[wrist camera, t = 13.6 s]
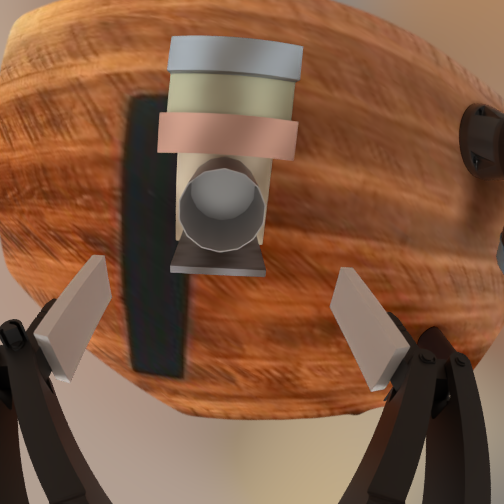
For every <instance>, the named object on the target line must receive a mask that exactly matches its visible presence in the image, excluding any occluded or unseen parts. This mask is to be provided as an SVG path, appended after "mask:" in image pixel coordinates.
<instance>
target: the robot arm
mask: <svg viewBox="0 0 504 504" xmlns="http://www.w3.org/2000/svg"><path fill="white" fill-rule="evenodd" d="M460 148H461V154H462V157H463V160H464V163H465V165H466V167H467V169H468V170H469V172H470V173H471V174H472V175H474V176H475V177H478V178H480V179H483V180H488V181H489V180H504V113H502V112H500V111H498V110H497V109H495V108H493V107H491V106H489V105H486V104H473V105H471V106H470V107H468V109H467V110H466V111H465V113H464V115H463V118H462V121H461V126H460ZM496 257H497V262H498V265H499V268H500V269H501V271H502V273H503V274H504V227H503V231H502V233H501V235H500V242H499V246H498V250H497V255H496ZM111 298H112V296H111V291H110V285H109V280H108V274H107V268H106V262H105V256H101V255H92V257H91V258H90V259H89V260H88V261H87V262H86V264H85V265H84V266H83V267H82V268H81V270H80V271H79V272H78V273H77V275H76V276H75V277H74V278H73V280H72V281H71V282H70V283H69V285H68V286H67V287H66V288H65V290H64V291H63V292H62V294H61V295H60V296H59V298H58V299H54V298H53V299H52V300H51V301H49V302H48V303H46V304H45V306H44V307H43V308H42V310H41V312H39V314H38V315H37V317H36V318H35V319H34V321H33V322H32V323H31V325H30V326H29V328H28V329H27V331H25V329H24V327H23V325H22V322H21V321H19V320H17V319H12V320H8V321H6V322H4V323H3V324H2V325H1V326H0V340H1V341H2V343H3V345H0V504H29V501H28V497H27V492H26V488H25V482H24V477H23V471H22V464H21V457H20V448H19V436H18V421H19V425H20V428H21V432H22V434H23V438H24V441H25V444H26V447H27V450H28V453H29V456H30V459H31V461H32V464H33V467H34V469H35V471H36V474H37V476H38V479H39V481H40V483H41V486H42V488H43V490H44V492H45V494H46V496H47V498H48V500H49V504H112V502H111V501H110V499H109V498H108V496H107V495H106V494H105V492H104V490H103V489H102V488H101V486H100V484H99V483H98V481H97V479H96V478H95V476H94V475H93V473H92V471H91V469H90V467H89V466H88V464H87V462H86V460H85V458H84V456H83V455H82V453H81V451H80V449H79V447H78V445H77V443H76V441H75V439H74V437H73V434H72V432H71V430H70V428H69V426H68V423H67V421H66V419H65V416H64V414H63V411H62V409H61V406H60V404H59V401H58V399H57V396H56V393H55V390H54V387H53V385H52V382H51V380H50V378H49V376H50V373H51V371H52V372H53V374H54V376H55V377H56V379H58V380H61V381H65V382H68V383H70V382H71V380H72V378H73V375H74V373H75V371H76V369H77V366H78V364H79V362H80V360H81V357H82V355H83V353H84V351H85V349H86V347H87V345H88V343H89V341H90V339H91V336H92V334H93V332H94V330H95V328H96V326H97V324H98V323H99V321H100V319H101V317H102V315H103V313H104V311H105V309H106V307H107V305H108V304H109V302H110V300H111ZM330 308H331V310H332V312H333V314H334V316H335V318H336V320H337V322H338V324H339V326H340V328H341V330H342V332H343V334H344V336H345V338H346V340H347V342H348V344H349V346H350V348H351V350H352V352H353V354H354V357H355V359H356V361H357V363H358V365H359V367H360V369H361V371H362V373H363V375H364V378H365V380H366V382H367V384H368V386H369V388H370V390H371V392H372V391H377V390H382V389H385V388H386V386H387V385H388V383H389V381H391V383H392V385H393V387H392V389H391V390H390V392H389V393H388V395H387V396H386V397H385V399H384V400H383V401H386V400H387V401H386V404H385V407H384V409H383V412H382V415H381V417H380V420H379V422H378V425H377V427H376V430H375V432H374V435H373V437H372V439H371V441H370V444H369V446H368V448H367V450H366V453H365V455H364V457H363V459H362V461H361V463H360V465H359V467H358V469H357V471H356V473H355V475H354V477H353V478H352V480H351V482H350V484H349V486H348V488H347V489H346V491H345V493H344V495H343V496H342V498H341V500H340V501H339V503H338V504H405V500H406V497H407V494H408V492H409V489H410V486H411V484H412V481H413V478H414V475H415V472H416V469H417V466H418V462H419V459H420V455H421V452H422V448H423V445H424V441H425V437H426V466H425V481H424V482H425V483H424V493H423V501H422V504H491V480H490V463H489V452H488V443H487V435H486V428H485V422H484V416H483V411H482V406H481V401H480V397H479V392H478V389H477V384H476V380H475V377H474V373H473V369H472V366H471V362H470V360H469V359H468V358H467V357H466V355H464V354H462V353H459V352H454V353H452V354H451V355H450V357H449V358H448V360H444V359H437V357H436V356H435V355H434V354H433V353H432V352H431V351H429V350H427V349H420V348H419V347H418V345H417V344H416V342H415V341H414V340H413V338H412V337H411V335H410V334H409V333H408V331H406V328H405V327H404V326H403V324H402V323H401V322H400V320H399V319H398V318H397V317H396V316H395V315H393V314H392V313H391V312H386V311H385V310H384V308H383V307H382V306H381V304H380V303H379V302H378V300H377V299H376V298H375V296H374V295H373V294H372V292H371V291H370V290H369V288H368V287H367V286H366V284H365V283H364V282H363V280H362V279H361V278H360V277H359V275H358V274H357V273H356V271H355V270H354V269H353V268H347V267H341V269H340V272H339V276H338V280H337V283H336V287H335V290H334V294H333V297H332V301H331V304H330Z"/></svg>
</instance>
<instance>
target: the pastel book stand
mask: <svg viewBox="0 0 504 504" xmlns="http://www.w3.org/2000/svg"><path fill="white" fill-rule="evenodd" d="M302 54H303V46H298V45H293V44H287V43H281V42H275V41H267V40H259V39H250V38H239V37H224V36H172V39H171V46H170V52H169V60H168V67H167V71H169V72H170V73H171V77H170V86H169V96H168V107H167V113H160V117H159V132H158V153H178V157H177V183H176V240H179V243H178V246H177V248H176V251H175V254H174V257H173V259H172V262H171V265H170V270H171V272H173V273H191V274H210V275H232V276H256V277H265V274H266V269H265V265H264V261H263V257H262V254H261V250H260V246H259V244H260V245H262V243H263V235H264V226H265V218H266V210H267V202H268V193H269V185H270V176H271V168H272V159H281V160H290V161H294V154H295V146H296V138H297V130H298V122H296V121H291V117H292V108H293V99H294V90H295V82H297V81H299V80H300V74H301V64H302ZM220 157H229V158H232V159H235V160H239V161H240V162H242V163H243V164H244V165H245V166H246V167H247V168H248V169H249V170H250V171H251V173H252V175H253V176H254V178H255V180H256V182H257V184H258V186H259V188H260V191H261V193H262V196H263V199H264V202H265V204H266V209H265V217H264V224H263V226H262V227H261V229H260V231H259V232H258V234H257V235H256V237H255V238H254V240H252V241H251V242H249V243H247V244H246V245H244V246H243V247H241V248H240V249H238V250H232V251H225V252H216V251H212V250H208V249H204V248H201V247H200V246H198V245H197V244H196V243H195V242H193V241H192V240H191V239H190V238H188V237H187V236H186V234H185V232H184V230H183V228H182V226H181V223H180V221H179V199H180V197H181V195H182V193H183V192H184V190H185V188H186V186H187V184H188V182H189V181H190V179H191V178H192V176H193V175H194V173H195V172H196V170H197V169H198V167H200V166H201V165H203V164H204V163H205V162H207V161H208V160H210V159H213V158H220Z"/></svg>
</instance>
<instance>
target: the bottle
mask: <svg viewBox="0 0 504 504" xmlns="http://www.w3.org/2000/svg"><path fill="white" fill-rule="evenodd" d="M418 346H419V348H420V349H427V350H429V351H431V352H432V353H433V354H434V355H435V356H436V357H437V359H444V360H448V358H449V357H450V355H451V354H452V353H454V352H457V351H456V350H455V349H454V348H453V346H452V345H451V344H450V342H449V341H448V340H447V339H446V337H445V336H444V335H443V334H442V332H441V331H440V330H439V329H438V328H437V327H433V328H430V329H428V330H427V331H425V332H424V333H423V334H422V336H421V337H420V339H419V341H418Z"/></svg>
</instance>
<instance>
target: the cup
mask: <svg viewBox="0 0 504 504" xmlns="http://www.w3.org/2000/svg"><path fill="white" fill-rule="evenodd" d="M265 209H266V204H265V202H264V199H263V196H262V193H261V191H260V188H259V186H258V184H257V182H256V180H255V178H254V176H253V175H252V173H251V171H250V170H249V169H248V168H247V167H246V166H245V165H244V164H243V163H242V162H240V161H239V160H235V159H232V158H229V157H220V158H213V159H210V160H208V161H207V162H205V163H204V164H203V165H201V166H200V167H198V169H197V170H196V172H195V173H194V175H193V176H192V178H191V179H190V181H189V182H188V184H187V186H186V188H185V190H184V192H183V193H182V195H181V197H180V199H179V221H180V223H181V226H182V228H183V230H184V232H185V234H186V236H187V237H188V238H190V239H191V240H192V241H193V242H195V243H196V244H197V245H198V246H200V247H201V248H204V249H208V250H212V251H216V252H225V251H232V250H238V249H240V248H241V247H243V246H244V245H246V244H247V243H249V242H251V241H252V240H254V238H255V237H256V235H257V234H258V232H259V231H260V229H261V227H262V226H263V224H264V217H265Z"/></svg>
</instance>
